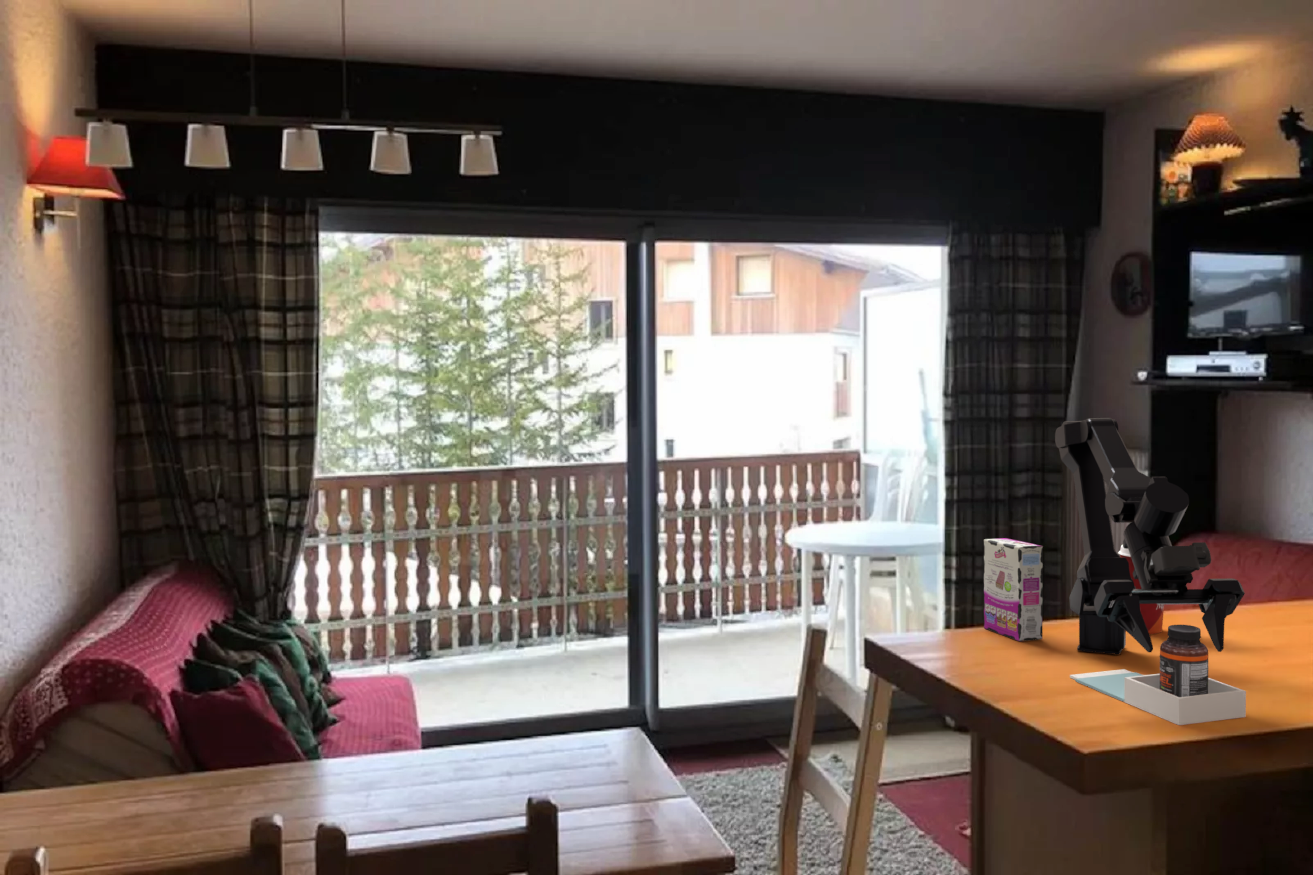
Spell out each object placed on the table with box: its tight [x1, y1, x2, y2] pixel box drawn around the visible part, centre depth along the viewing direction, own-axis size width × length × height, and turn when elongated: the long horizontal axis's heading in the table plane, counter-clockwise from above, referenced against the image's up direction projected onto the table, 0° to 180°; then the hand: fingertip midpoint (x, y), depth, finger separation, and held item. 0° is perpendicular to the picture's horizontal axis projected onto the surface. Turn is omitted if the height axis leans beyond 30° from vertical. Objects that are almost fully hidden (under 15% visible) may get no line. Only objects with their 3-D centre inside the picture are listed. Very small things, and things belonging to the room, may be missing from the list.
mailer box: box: [1069, 668, 1247, 726], centre depth 153 cm, size 10×23×4 cm, turn 15°
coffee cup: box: [1117, 544, 1165, 635], centre depth 191 cm, size 8×8×15 cm
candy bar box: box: [983, 537, 1044, 642], centre depth 190 cm, size 11×5×16 cm, turn 16°
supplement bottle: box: [1159, 624, 1209, 697], centre depth 146 cm, size 6×6×11 cm
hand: (1185, 650), depth 146 cm, fingers open, 9 cm apart
